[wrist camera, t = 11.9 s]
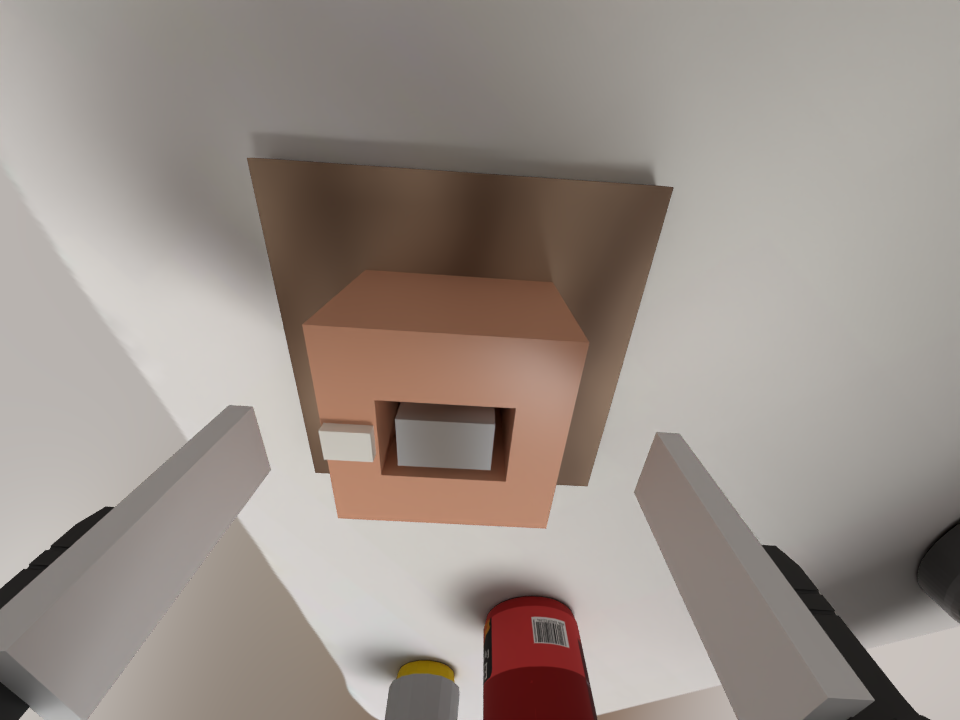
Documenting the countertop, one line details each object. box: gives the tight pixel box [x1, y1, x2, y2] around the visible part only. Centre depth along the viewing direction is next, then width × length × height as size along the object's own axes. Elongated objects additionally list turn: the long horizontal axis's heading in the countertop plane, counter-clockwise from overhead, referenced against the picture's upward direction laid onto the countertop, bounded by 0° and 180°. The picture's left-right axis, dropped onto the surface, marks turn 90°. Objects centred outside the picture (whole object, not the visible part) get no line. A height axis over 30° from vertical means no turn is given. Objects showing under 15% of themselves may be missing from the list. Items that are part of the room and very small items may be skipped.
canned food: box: [483, 596, 597, 720], centre depth 26 cm, size 8×8×11 cm
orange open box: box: [302, 270, 589, 528], centre depth 14 cm, size 8×8×6 cm
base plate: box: [247, 158, 674, 486], centre depth 15 cm, size 16×16×8 cm
